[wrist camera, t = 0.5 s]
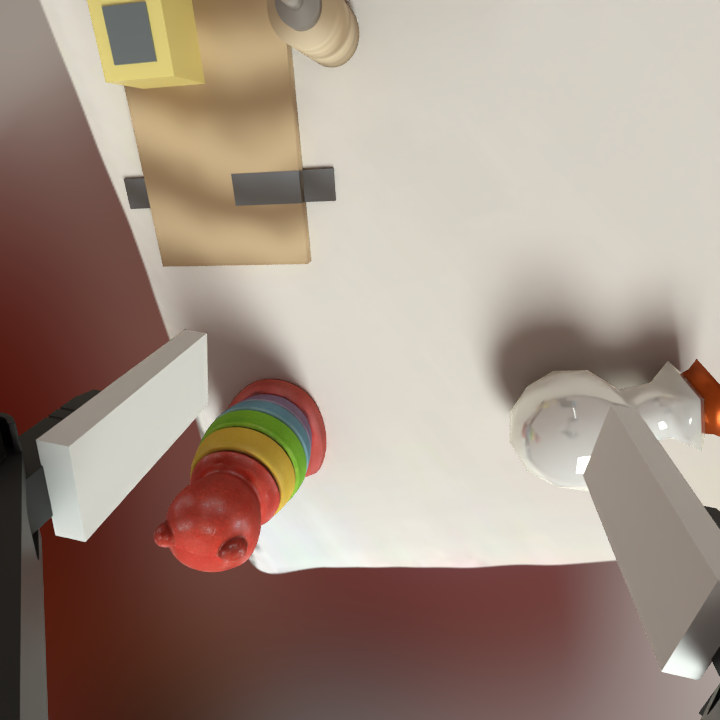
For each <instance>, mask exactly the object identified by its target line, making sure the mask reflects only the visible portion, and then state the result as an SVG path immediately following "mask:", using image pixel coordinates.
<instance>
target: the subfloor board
mask: <svg viewBox="0 0 720 720" xmlns="http://www.w3.org/2000/svg"><path fill="white" fill-rule="evenodd" d="M192 5H193V11H194V18H195V24H196V30H197V37H198V43H199V49H200V56H201V62H202V68H203V75H204V81H205V84H195V85H183V86H171V87H160V88H148V89H141V88H135V87H130V86H124V87H125V92H126V96H127V101H128V106H129V110H130V115H131V119H132V124H133V129H134V133H135V138H136V143H137V147H138V152H139V157H140V161H141V166H142V171H143V175H144V178H134V179H124V182H125V187H126V191H127V195H128V200H129V204H130V208H131V209H139V208H151V212H152V217H153V222H154V226H155V231H156V236H157V240H158V245H159V249H160V254H161V259H162V263H163V266H216V265H272V264H308V263H309V262H310V261H311V253H310V242H309V232H308V221H307V210H306V202H314V201H336V195H335V180H334V168H329V169H309V170H303V167H302V156H301V146H300V135H299V124H298V113H297V103H296V92H295V81H294V70H293V60H292V49H291V46H290V45H288V44H287V43H285V42H284V41H283V40H281V39H280V38H279V36H278V35H277V34H276V33H275V31H274V30H273V28H272V26H271V23H270V21H269V17H268V13H267V0H192Z"/></svg>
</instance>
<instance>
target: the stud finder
mask: <svg viewBox="0 0 720 720" xmlns="http://www.w3.org/2000/svg"><path fill="white" fill-rule="evenodd" d="M87 2H88V7H89V11H90V16H91V20H92V24H93V29H94V33H95V37H96V42H97V46H98V51H99V55H100V59H101V64H102V68H103V73H104V77H105V81H106V82H108V83H113V84H119V85H124V86H130V87H135V88H141V89H148V88H160V87H171V86H183V85H195V84H205V81H204V75H203V68H202V62H201V56H200V49H199V43H198V37H197V30H196V24H195V18H194V11H193V5H192V0H87Z"/></svg>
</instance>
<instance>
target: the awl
mask: <svg viewBox="0 0 720 720" xmlns="http://www.w3.org/2000/svg"><path fill="white" fill-rule="evenodd" d="M267 13H268V17H269V21H270V23H271V26H272V28H273V30H274V31H275V33H276V34H277V35H278V36H279V38H280V39H281V40H283V41H284V42H285V43H287V44H288V45H290V46H292V47H293V48H295V49H296V50H298V51H300V52H301V53H303V54H304V55H306V56H308V57H309V58H311V59H312V60H314V61H316V62H317V63H319V64H320V65H323V66H326V67H338V66H341V65H343V64H344V63H346V62H347V61H348V60H349V59H350V58H351V57H352V56H353V54H354V52H355V50H356V48H357V45H358V41H359V26H358V22H357V19H356V17H355V15H354V13H353V12H352V10H351V9H350V8H349V6H348V5H347V3H346V2H345V1H344V0H267Z"/></svg>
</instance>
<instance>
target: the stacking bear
mask: <svg viewBox="0 0 720 720" xmlns="http://www.w3.org/2000/svg"><path fill="white" fill-rule="evenodd" d="M325 452H326V432H325V427H324V422H323V419H322V417H321V414H320V412H319V410H318V408H317V406H316V404H315V403H314V401H313V400H312V399H311V397H310V396H309V395H308V394H307V393H306V392H304V391H303V390H302V389H300V388H299V387H297V386H295V385H293V384H291V383H289V382H286V381H282V380H276V379H264V380H259V381H256V382H254V383H251V384H250V385H248V386H247V387H245V388H244V389H243V390H242V391H241V392H240V393H239V394H238V395H237V396H236V397H235V398H234V400H233V401H232V402H231V404H230V405H229V407H228V409H227V410H226V411H224V412H223V413H222V414H221V415H220V416H218V417H217V418H216V419H215V421H214V422H213V423H212V424H211V425H210V427H209V428H208V430H207V431H206V433H205V435H204V436H203V438H202V440H201V442H200V445H199V448H198V450H197V452H196V454H195V457H194V460H193V462H192V466H191V484H190V485H188V486H187V487H185V488H184V489H183V490H182V491H181V492H180V493H179V494H178V495H177V496H176V498H175V499H174V500H173V502H172V504H171V506H170V507H169V510H168V513H167V516H166V520H165V522H164V523H162V524H160V525H159V526H158V527H157V529H156V530H155V532H154V540H155V542H156V544H157V545H159V546H161V547H169V548H170V550H171V552H172V553H173V555H174V556H175V557H176V558H177V559H178V560H179V561H180V562H181V563H183V564H184V565H186V566H188V567H190V568H193V569H196V570H200V571H205V572H219V571H224V570H228V569H231V568H234V567H237V566H239V565H241V564H243V563H244V562H245V561H247V560H248V559H249V557H250V556H251V555H252V553H253V551H254V549H255V547H256V544H257V542H258V538H259V535H260V529H261V525H263V524H265V523H266V522H268V521H269V520H270V519H271V518H272V517H273V516H274V515H275V514H276V513H278V512H279V511H280V510H281V509H282V508H283V507H284V505H285V504H286V503H287V502H288V501H289V500H290V499H291V498H292V497H293V495H294V494H295V493H296V492H297V490H298V489H299V487H300V485H301V484H302V482H303V480H304V478H305V477H307V476H309V475H312V474H315V473H316V472H317V471H318V470H319V469H320V467H321V465H322V463H323V460H324V457H325Z"/></svg>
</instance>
